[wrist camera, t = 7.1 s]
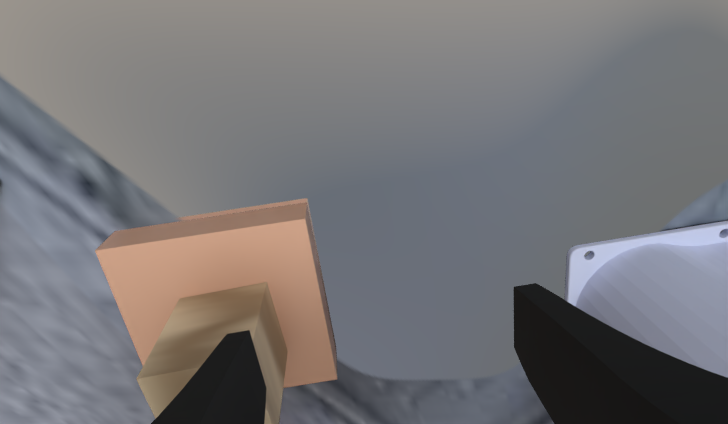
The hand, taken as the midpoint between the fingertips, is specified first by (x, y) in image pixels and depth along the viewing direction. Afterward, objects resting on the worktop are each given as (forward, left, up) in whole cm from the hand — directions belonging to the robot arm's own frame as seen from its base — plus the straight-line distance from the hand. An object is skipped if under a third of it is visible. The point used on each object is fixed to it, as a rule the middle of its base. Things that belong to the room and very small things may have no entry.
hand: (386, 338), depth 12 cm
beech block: (+7, +4, -8) cm, 11 cm away
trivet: (+7, +4, -10) cm, 13 cm away
